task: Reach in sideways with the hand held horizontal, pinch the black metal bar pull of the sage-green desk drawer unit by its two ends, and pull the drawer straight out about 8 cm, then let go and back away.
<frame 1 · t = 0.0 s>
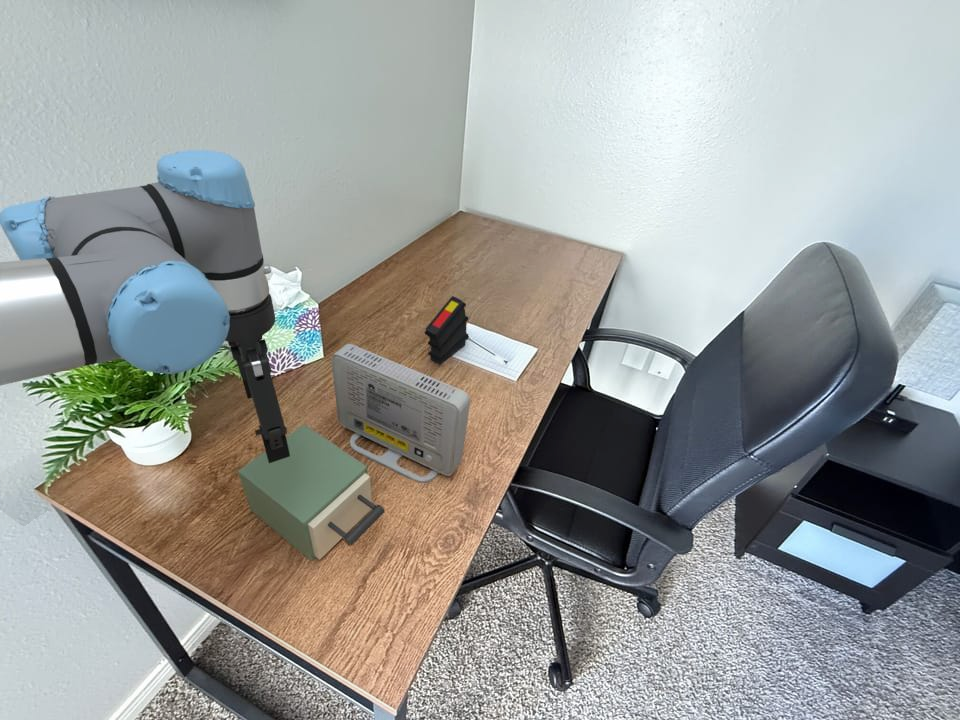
hand: (267, 424, 67), 20 cm above the table, tool pointing down, fingers open, 13 cm apart
network device: (397, 451, 90), on the table
cabinet: (311, 508, 79), on the table
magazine: (445, 355, 116), on the table
drawer: (326, 503, 74), point 5 cm above the table, slide at 0.0 cm, touching cabinet
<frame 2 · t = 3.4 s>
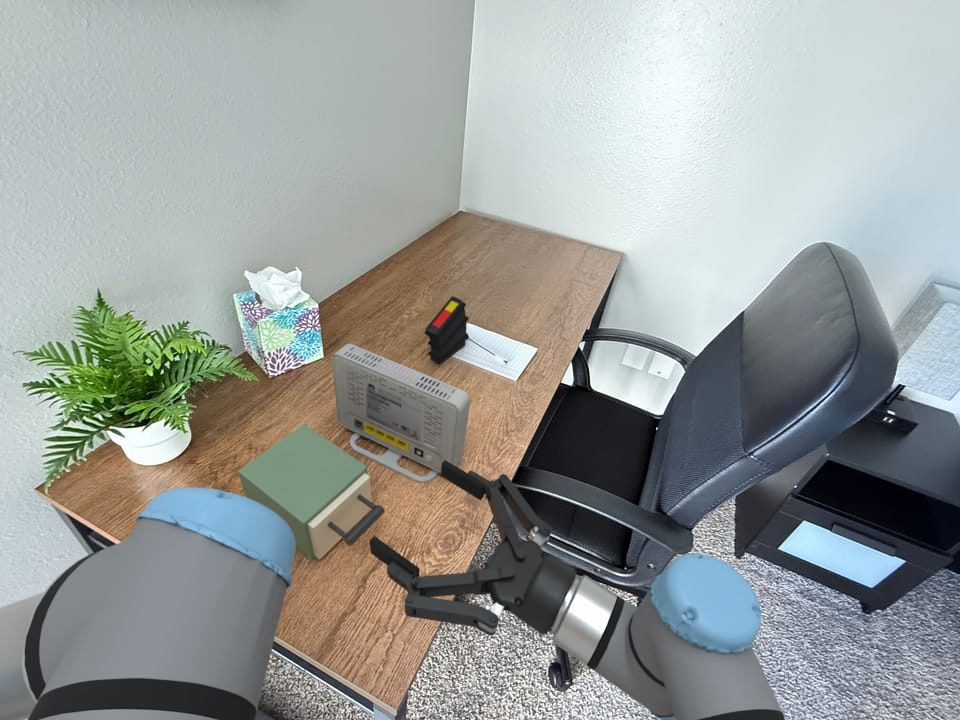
hand: (410, 503, 58), 21 cm above the table, tool horizontal, fingers open, 13 cm apart
nothing on the table moved.
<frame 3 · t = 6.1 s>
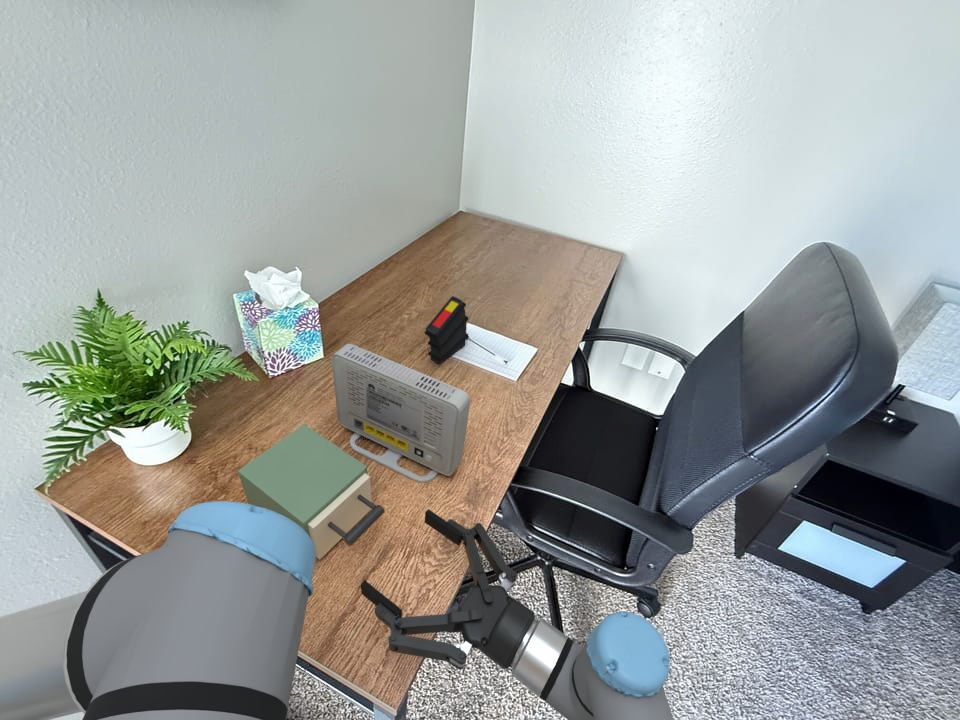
hand: (396, 548, 67), 7 cm above the table, tool horizontal, fingers open, 13 cm apart
nothing on the table moved.
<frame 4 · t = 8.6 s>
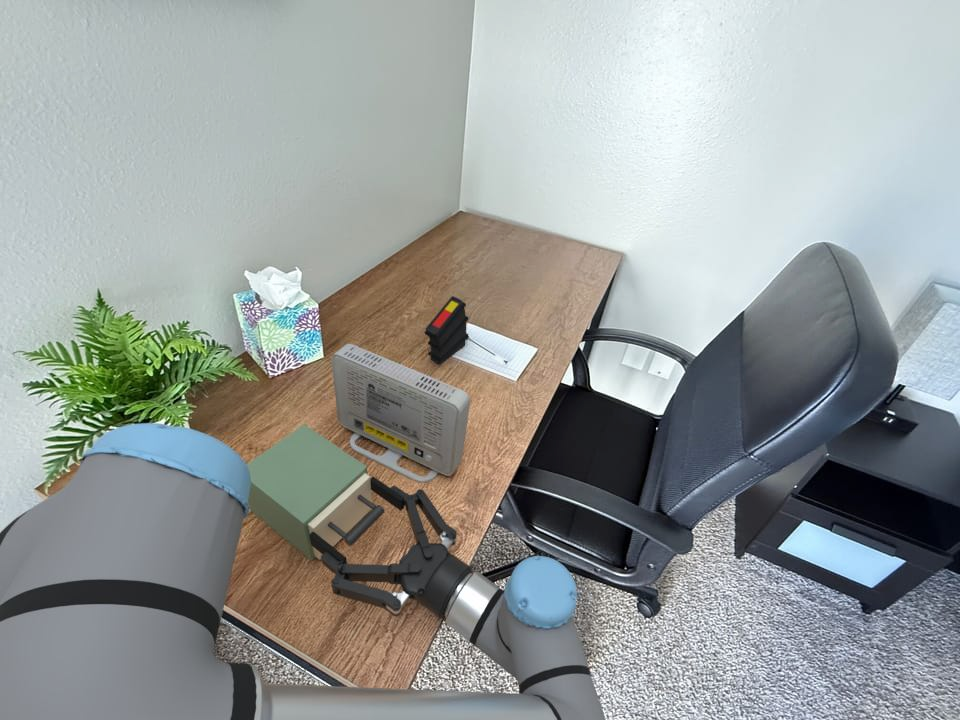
hand: (343, 508, 71), 7 cm above the table, tool horizontal, fingers closed on drawer, 11 cm apart
drawer: (326, 503, 74), point 5 cm above the table, slide at 0.0 cm, touching gripper
everything else where it was.
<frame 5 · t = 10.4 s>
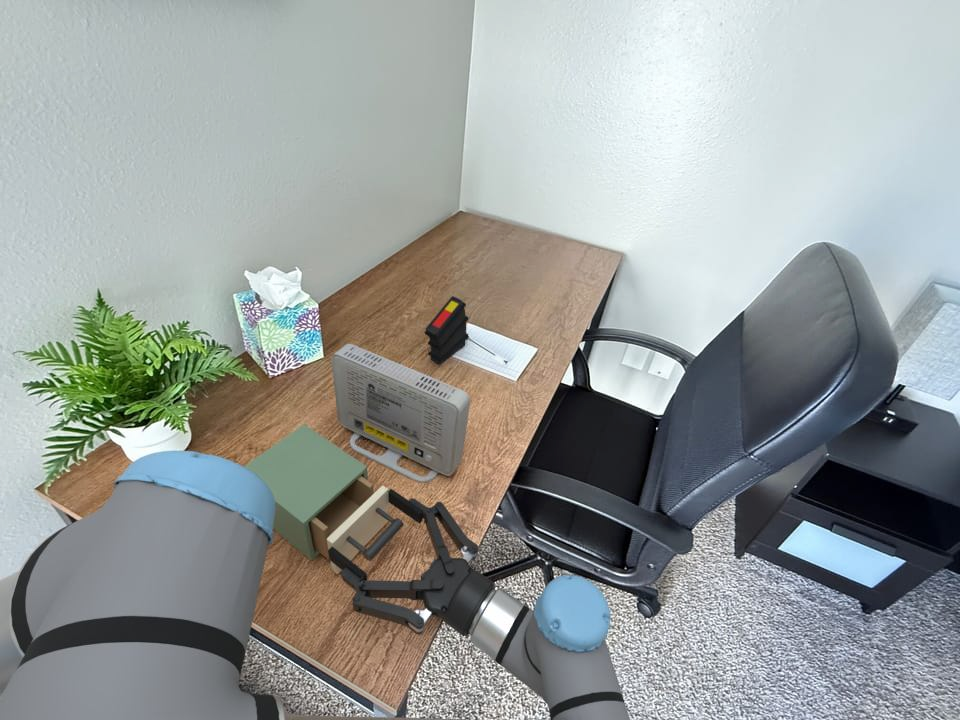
hand: (361, 522, 70), 7 cm above the table, tool horizontal, fingers closed on drawer, 11 cm apart
drawer: (343, 516, 72), point 5 cm above the table, slide at 3.8 cm, touching gripper
everything else where it was.
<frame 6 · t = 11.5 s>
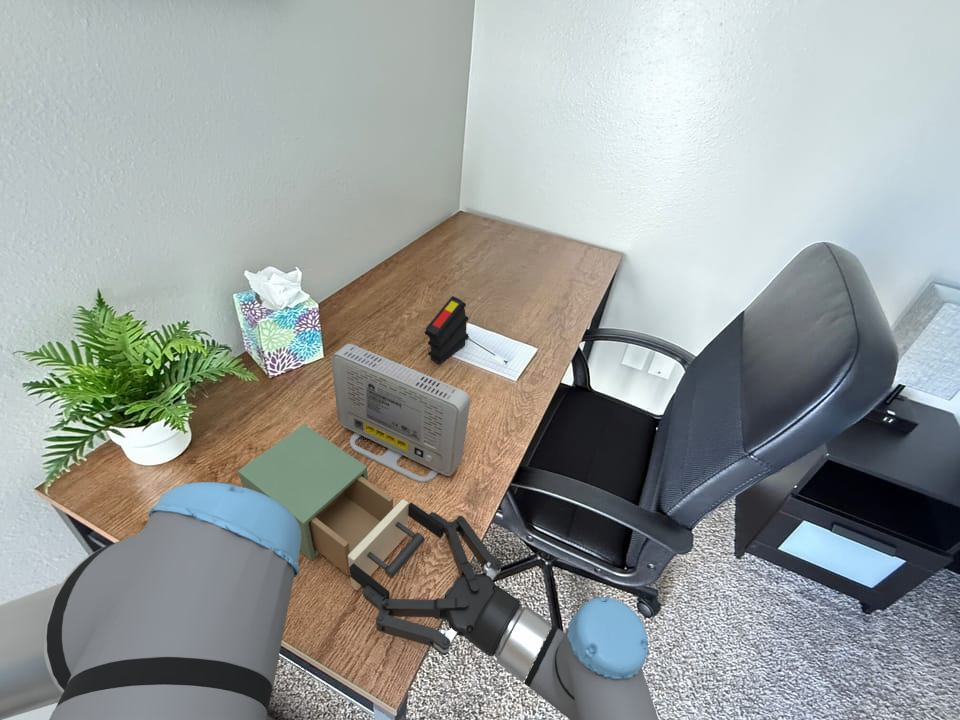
hand: (382, 537, 68), 7 cm above the table, tool horizontal, fingers closed on drawer, 11 cm apart
drawer: (362, 530, 71), point 5 cm above the table, slide at 7.9 cm, touching gripper
everything else where it was.
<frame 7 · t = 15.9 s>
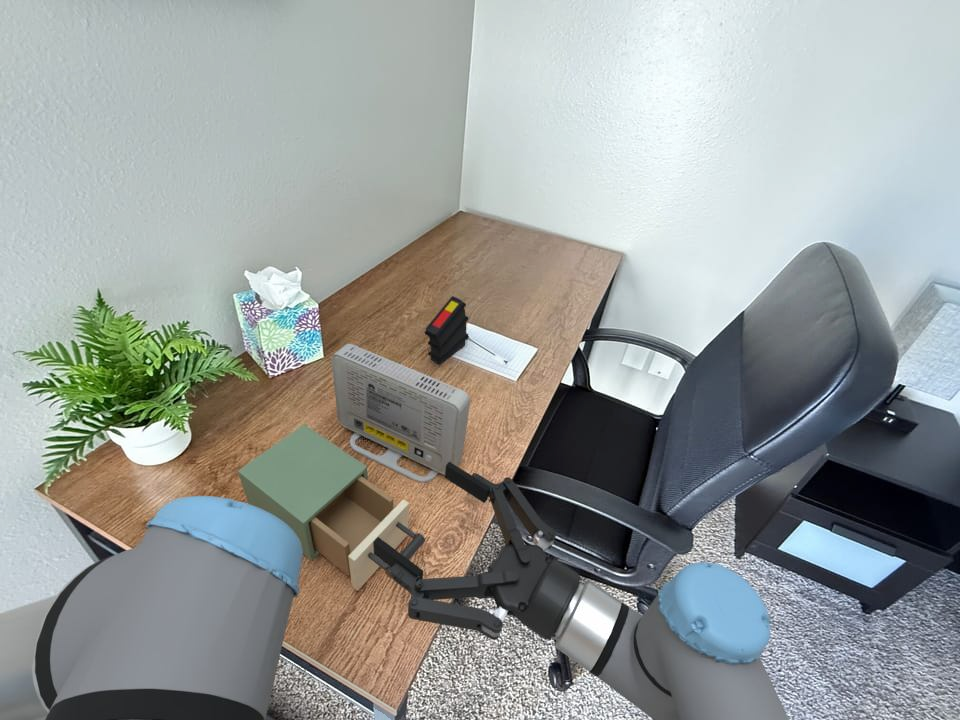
hand: (414, 504, 57), 21 cm above the table, tool horizontal, fingers open, 13 cm apart
drawer: (363, 530, 71), point 5 cm above the table, slide at 8.0 cm
everything else where it was.
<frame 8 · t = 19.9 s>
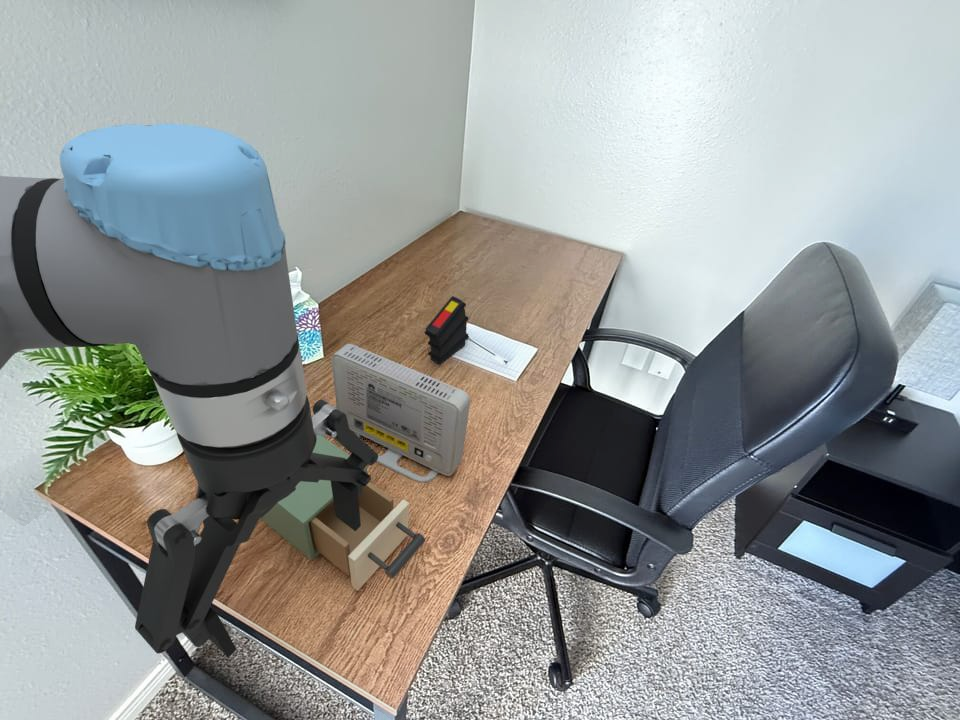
hand: (292, 575, 42), 29 cm above the table, tool pointing down, fingers open, 13 cm apart
nothing on the table moved.
at the end: drawer slide at 8.0 cm; the gripper is holding nothing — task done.
